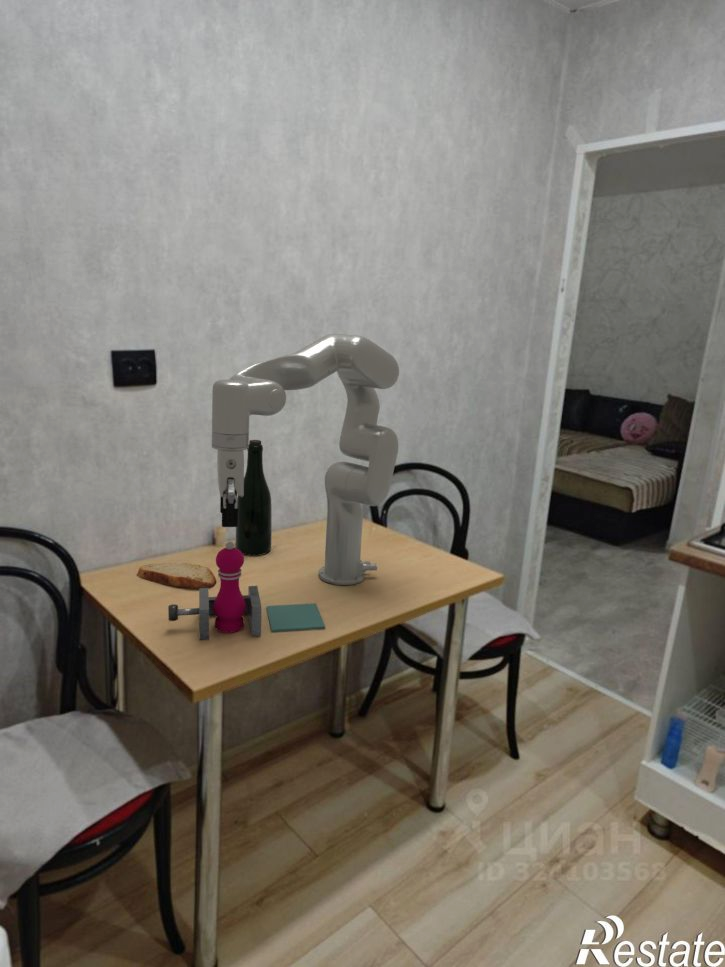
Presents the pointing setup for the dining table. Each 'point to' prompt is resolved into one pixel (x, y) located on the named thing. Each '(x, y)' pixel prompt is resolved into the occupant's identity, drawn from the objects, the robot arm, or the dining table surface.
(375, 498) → the robot arm
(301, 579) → the dining table surface
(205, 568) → the bread slice
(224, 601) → the pepper mill
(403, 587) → the dining table surface
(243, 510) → the dark green wine bottle
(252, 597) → the grey c-clamp
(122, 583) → the dining table surface
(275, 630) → the mat
